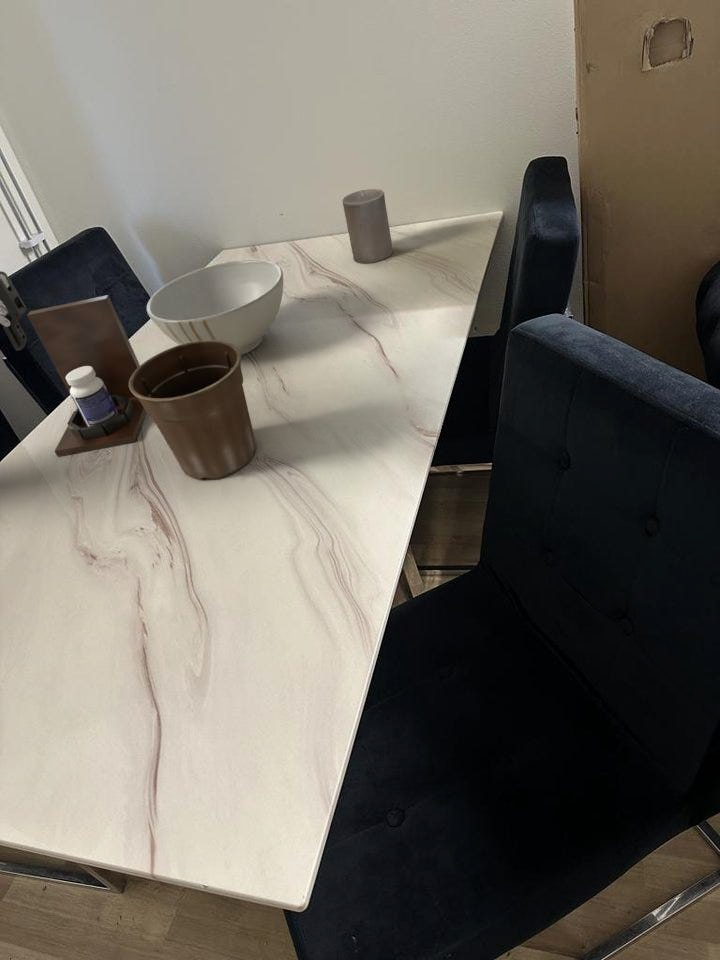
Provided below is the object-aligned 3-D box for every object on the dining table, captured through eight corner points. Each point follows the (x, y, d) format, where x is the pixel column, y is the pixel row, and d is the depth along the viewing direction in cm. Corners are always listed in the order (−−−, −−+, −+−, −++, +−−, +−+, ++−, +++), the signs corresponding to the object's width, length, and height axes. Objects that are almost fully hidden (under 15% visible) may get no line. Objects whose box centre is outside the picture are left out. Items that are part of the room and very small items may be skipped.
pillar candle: (345, 260, 159) (331, 195, 150) (374, 244, 163) (363, 181, 154) (372, 266, 153) (360, 199, 143) (402, 250, 157) (392, 184, 148)
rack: (57, 456, 113) (-5, 353, 101) (82, 408, 125) (30, 311, 113) (135, 442, 112) (83, 335, 100) (153, 394, 124) (108, 294, 112)
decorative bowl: (184, 395, 122) (159, 336, 114) (158, 343, 142) (136, 290, 134) (317, 344, 127) (301, 285, 120) (274, 301, 148) (259, 248, 140)
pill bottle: (126, 415, 118) (102, 366, 111) (101, 433, 114) (75, 383, 108) (106, 409, 121) (81, 361, 114) (81, 427, 117) (55, 379, 111)
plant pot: (291, 445, 103) (262, 353, 93) (208, 504, 95) (167, 411, 85) (231, 416, 113) (199, 330, 103) (151, 467, 105) (108, 380, 95)
